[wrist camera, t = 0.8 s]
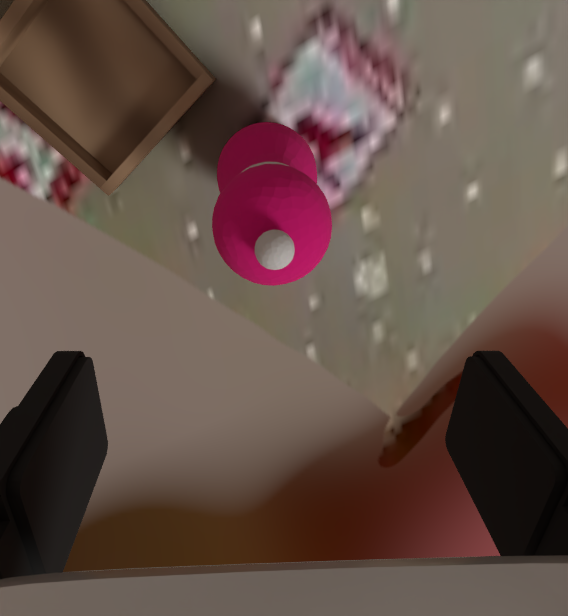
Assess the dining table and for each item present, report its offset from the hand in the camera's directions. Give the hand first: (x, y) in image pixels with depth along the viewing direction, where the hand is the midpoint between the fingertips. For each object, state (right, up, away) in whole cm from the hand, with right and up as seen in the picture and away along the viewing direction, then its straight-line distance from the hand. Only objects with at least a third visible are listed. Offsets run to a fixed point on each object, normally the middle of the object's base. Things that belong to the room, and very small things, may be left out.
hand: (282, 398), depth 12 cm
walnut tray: (-13, +19, +22) cm, 32 cm away
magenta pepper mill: (-1, +14, +26) cm, 29 cm away
